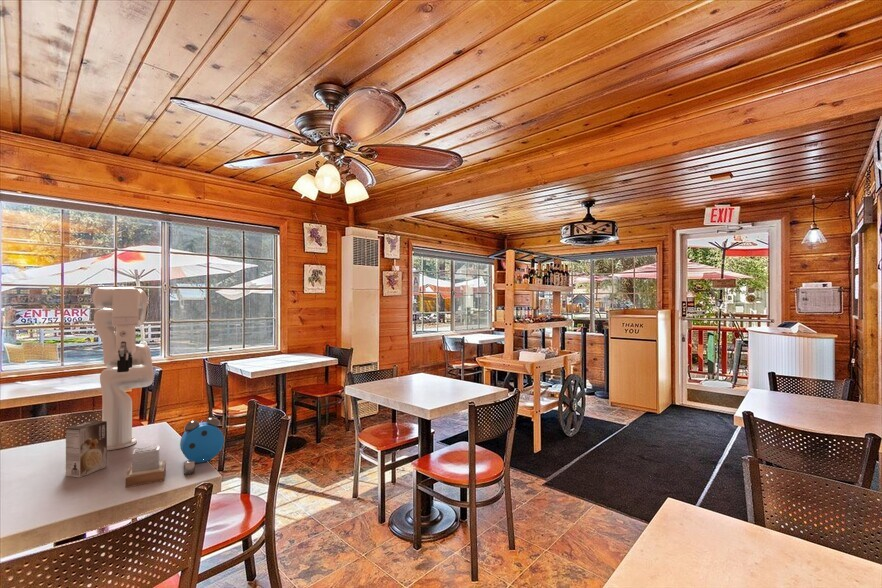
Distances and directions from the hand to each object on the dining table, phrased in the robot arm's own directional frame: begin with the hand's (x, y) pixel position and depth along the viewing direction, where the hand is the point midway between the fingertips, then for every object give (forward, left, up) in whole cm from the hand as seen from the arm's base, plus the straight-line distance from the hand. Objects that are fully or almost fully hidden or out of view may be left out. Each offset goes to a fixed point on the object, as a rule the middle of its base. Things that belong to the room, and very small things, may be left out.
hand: (124, 369), depth 150 cm
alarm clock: (+11, +24, -34) cm, 43 cm away
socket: (+22, +20, -33) cm, 45 cm away
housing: (+19, +8, -30) cm, 36 cm away
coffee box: (+2, -10, -34) cm, 35 cm away
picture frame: (+19, +8, -33) cm, 39 cm away
